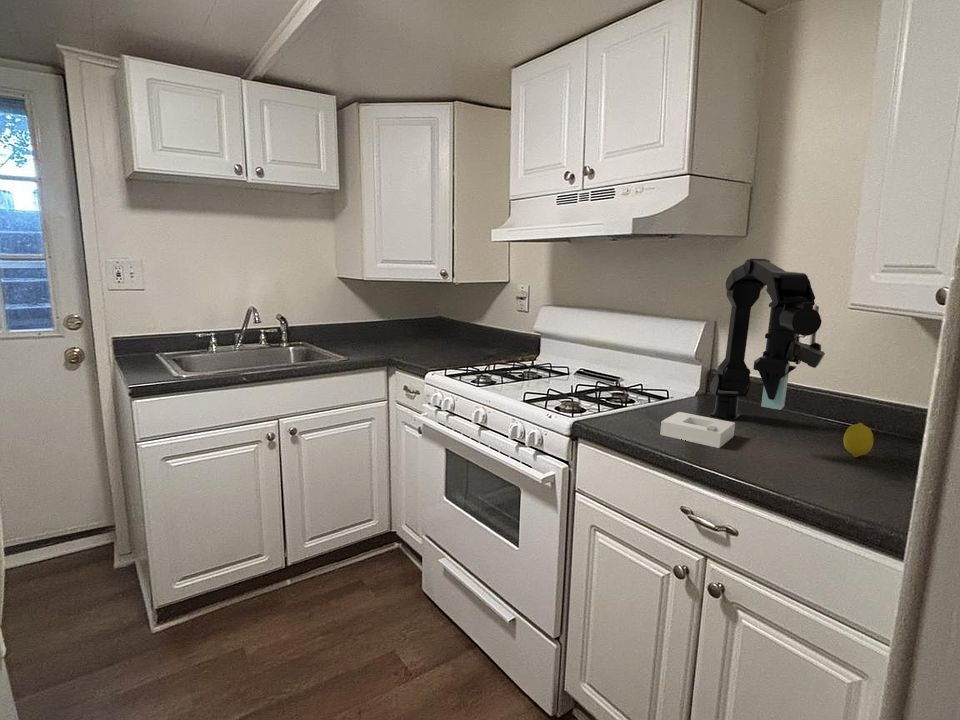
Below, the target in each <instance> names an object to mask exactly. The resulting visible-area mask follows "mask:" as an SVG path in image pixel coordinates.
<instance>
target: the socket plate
mask: <svg viewBox="0 0 960 720" xmlns="http://www.w3.org/2000/svg"><path fill="white" fill-rule="evenodd" d="M735 427H736V422H734V421H727V420H722V419H717V418H713V417H708V416H702V415H698V414H692V413H687V412H683V411H677V412H675V413H674V414H672V415H670V416H668V417H666V418H665V419H663V420H662V421H661V422H660V433H659V434H660V436H664V437H669V438H672V439H678V440H681V439H682V441H685V440H686V441H687V442H690V443H694V444H698V445H699V444H700V445H704V446H708V447H712V448H717V449H720V448H722V447H723V446H725V444H726V443H728V442H729V441H730V440H731V439H733V437H734V436H735Z"/></svg>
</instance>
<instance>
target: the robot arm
mask: <svg viewBox="0 0 960 720" xmlns="http://www.w3.org/2000/svg"><path fill="white" fill-rule="evenodd" d="M731 270H732V271H731V272H730V273H729V275H728V276H727V278H726V280H725V289H726V297H727V299H728V301H729V303H730V304H731V310H730V316H729V317H730V318H729V326H728V334H727V341H726V351H725V357H724V359H723V361H721V363H719V365H718V366H717V370H716V374H715V375H714V377H713V378H712V380H711V382H710V384H709V393H710V394H711V395H713V396H715V406H714V410H713V412H710V415H709V416H711V417H715V418H721V419H727V420H732V421H735V420H737V419H738V418H740V416H741V414H740V413H738V405H739V398H747V395H748V392H749V390H750V386H751V382H752V381H751V377H750V375H751V370H750V368H748V366H747V364H746V362H745V360H746V359H745V358H746V357H745V356H746V351H747V350H746V349H747V342H748V335H749V334H748V333H749V327H750V318H751V311H752V307H753V306H754V305H755V304H756V302H758V300H759V299H760V296H761V291H762V290H763V289H764V288H765V286H766V289H765V290H766V293H767V294H768V296H769V298H770V299H771V302H769V303H768V307H769V308H770V312H769V320H768V329H767V332H766V333H765V335H764V339H766V343H765V350H764V351H763V352H762V356H760V357H758V358H757V359H755V360H754V362H753V368H752V369H753V370H754V371H757V372H758V373H759V376H760V379H761V381H762V384H763V387H765V390H766V393H767V395H768V398H769V399H771V400H774V399H775V396H776V393H777V390H778V387H779V384H780V381H781V378H782V377H784V376H785V375H787V374H788V373H789V374H790V373H791V372H792V371H793V370H795V369H796V368H797V366H795V365H791V363H795V364H796V365H800V364H801V363H803V364H807V365H808V367H810V368H813V369H816V368H817V367H818V366H820V365H819V364H820V363H821V361H822V360H823V358H824V357H825V354H826V353H825V351H823V350H822V344H820V343H818V342H816V341H813V343H811V344H810V345H808V343H803V342H801V341H800V338H801V337H800V336H804V337H808V336H811V335H814V334H815V333H817V331H819V329H820V328H821V326H822V320H823V319H822V317H821V315H820V313H819V312H818V310H816V309H815V308H814V306H815V304H816V303H815V301H816V296H815V294H814V290H813V288H812V284H811V280H810V279H809V276H808V275H807V274H806V273H805V272H804V273H803V272H796V271H786V270H784V269H783V268H781V267H779V266H777V265H776V264H774V263H772V262H771V260H770V259H767V258H748V259H746V260H745V262H744V263H743V264H742V265H739V266H738V267H736V268H733V269H731ZM799 335H800V336H799Z"/></svg>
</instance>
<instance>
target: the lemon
mask: <svg viewBox="0 0 960 720" xmlns="http://www.w3.org/2000/svg"><path fill="white" fill-rule="evenodd" d="M873 445H874V434H873V432H872V430H871V429H870V428H869V426H866V425H864V423H862V422H858V423H856V424H852V425H850V426H849V427H848V428H846V431H845V432H844V435H843V446H844V448H845V450H846V451H847V452H849V454H852V456H853V457H854V458H858V457H860V456H864V455H866V454H868V453H869V452H870V451H871V450H872V448H873Z"/></svg>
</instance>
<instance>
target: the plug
mask: <svg viewBox="0 0 960 720" xmlns="http://www.w3.org/2000/svg"><path fill="white" fill-rule="evenodd" d="M789 374H790V372H789V373H788V374H787V375H785V376H784V377H782V378H781V381H780V384H779V387H778V390H777V393H776V396H775V399H774V400H771V399H769V398H768V395H767V393H766V390H765V387H764V386H763V388H762V397H761V405H760V407H762V408H768V409H773V410H779V411H781V410H782V409H783V408H784V407H785V403H786V398H787V397H786V396H787V390H788V380H789Z"/></svg>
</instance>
